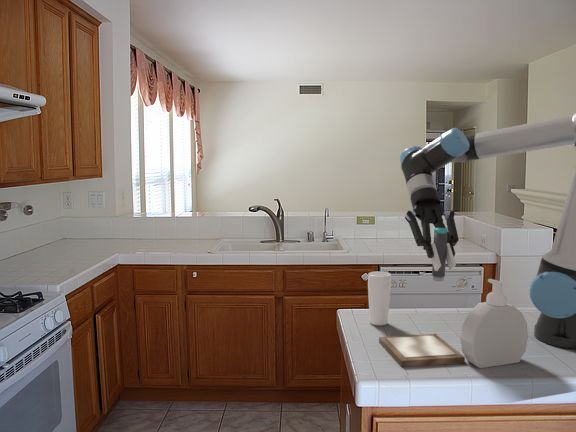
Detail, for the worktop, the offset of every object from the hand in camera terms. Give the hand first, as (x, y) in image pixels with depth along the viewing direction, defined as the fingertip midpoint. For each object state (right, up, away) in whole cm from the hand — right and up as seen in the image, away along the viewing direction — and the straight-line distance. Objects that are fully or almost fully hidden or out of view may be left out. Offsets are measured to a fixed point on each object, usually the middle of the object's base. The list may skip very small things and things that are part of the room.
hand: (445, 267), depth 128 cm
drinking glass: (-12, -19, +25) cm, 34 cm away
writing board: (-6, -22, +3) cm, 23 cm away
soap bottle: (+11, -23, -3) cm, 25 cm away
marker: (0, -4, +4) cm, 6 cm away
